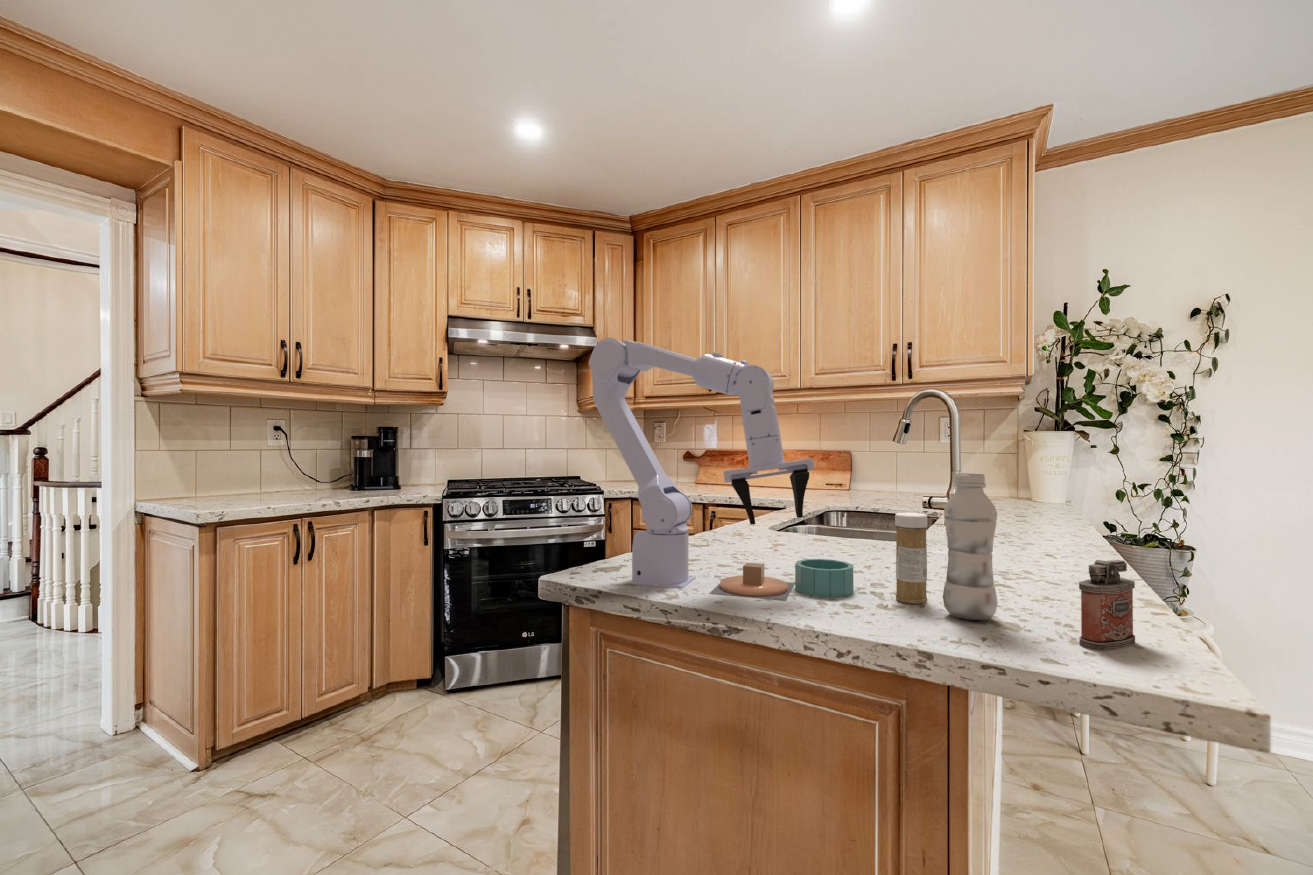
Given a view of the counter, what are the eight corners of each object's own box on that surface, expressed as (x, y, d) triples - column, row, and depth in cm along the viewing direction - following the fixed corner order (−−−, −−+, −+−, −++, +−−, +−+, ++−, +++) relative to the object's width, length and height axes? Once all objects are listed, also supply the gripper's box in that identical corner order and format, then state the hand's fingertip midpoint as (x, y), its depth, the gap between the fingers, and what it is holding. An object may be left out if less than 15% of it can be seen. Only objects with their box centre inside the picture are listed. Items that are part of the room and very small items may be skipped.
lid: (712, 592, 93) (713, 568, 93) (728, 577, 103) (728, 556, 103) (782, 599, 89) (782, 574, 89) (791, 583, 99) (791, 561, 99)
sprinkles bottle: (904, 595, 93) (904, 511, 93) (933, 601, 89) (932, 513, 89) (889, 600, 90) (889, 513, 90) (918, 606, 86) (918, 516, 86)
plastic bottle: (952, 608, 85) (951, 472, 85) (1004, 618, 80) (1003, 474, 81) (935, 617, 81) (934, 473, 81) (989, 629, 76) (988, 475, 76)
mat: (709, 595, 92) (709, 593, 92) (726, 579, 104) (726, 577, 104) (785, 602, 88) (785, 600, 88) (795, 585, 99) (795, 582, 99)
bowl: (792, 596, 92) (792, 567, 92) (799, 583, 101) (799, 557, 101) (852, 601, 89) (852, 572, 89) (854, 587, 98) (853, 561, 98)
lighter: (1102, 652, 67) (1101, 566, 67) (1071, 643, 70) (1071, 560, 70) (1143, 643, 70) (1142, 560, 71) (1111, 635, 74) (1111, 556, 74)
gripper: (720, 443, 92) (733, 529, 91) (811, 429, 91) (826, 516, 90) (718, 445, 99) (730, 525, 98) (803, 432, 98) (817, 512, 97)
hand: (776, 520), depth 95 cm, fingers open, 7 cm apart
